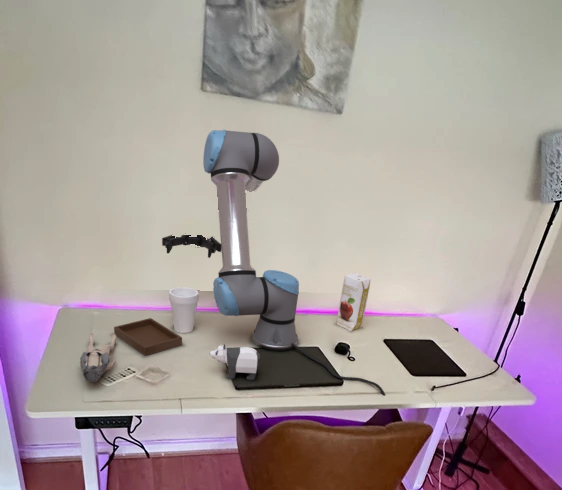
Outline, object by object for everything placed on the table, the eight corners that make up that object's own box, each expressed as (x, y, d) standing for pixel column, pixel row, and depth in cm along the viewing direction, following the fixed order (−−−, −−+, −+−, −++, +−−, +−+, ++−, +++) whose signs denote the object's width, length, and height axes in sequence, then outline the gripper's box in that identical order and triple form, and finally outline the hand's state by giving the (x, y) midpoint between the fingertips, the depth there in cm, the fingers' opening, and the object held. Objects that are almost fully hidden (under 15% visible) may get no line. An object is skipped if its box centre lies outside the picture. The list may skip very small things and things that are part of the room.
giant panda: (258, 371, 156) (261, 343, 151) (258, 381, 152) (261, 351, 146) (209, 368, 155) (210, 339, 149) (208, 377, 150) (209, 348, 145)
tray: (182, 345, 165) (182, 337, 164) (145, 356, 157) (144, 347, 155) (150, 325, 175) (150, 317, 174) (114, 334, 166) (113, 326, 165)
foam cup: (191, 336, 171) (192, 299, 164) (165, 331, 172) (164, 294, 165) (201, 325, 179) (202, 289, 172) (175, 321, 180) (175, 285, 173)
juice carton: (345, 319, 198) (354, 271, 188) (363, 328, 193) (374, 278, 183) (333, 324, 193) (342, 274, 183) (351, 332, 188) (361, 282, 178)
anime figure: (118, 328, 160) (109, 363, 134) (119, 350, 163) (111, 389, 137) (85, 327, 158) (70, 362, 132) (87, 350, 161) (72, 389, 135)
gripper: (230, 248, 192) (225, 266, 174) (162, 241, 191) (150, 258, 173) (231, 227, 188) (226, 244, 170) (162, 220, 187) (150, 235, 169)
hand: (188, 251), depth 171 cm, fingers open, 13 cm apart
